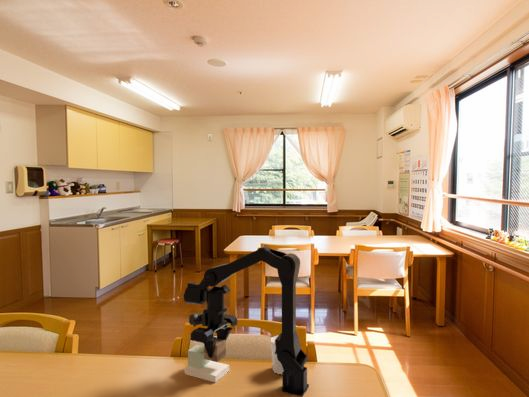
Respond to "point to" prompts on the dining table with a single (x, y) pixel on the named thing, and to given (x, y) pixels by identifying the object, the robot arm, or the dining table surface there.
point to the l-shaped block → (204, 366)
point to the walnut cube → (217, 351)
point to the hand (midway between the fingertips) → (215, 354)
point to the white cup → (275, 358)
